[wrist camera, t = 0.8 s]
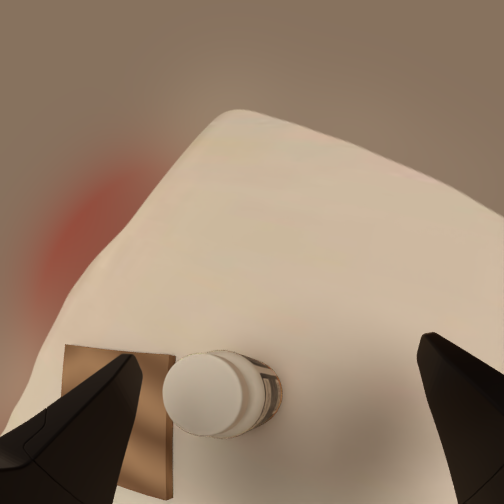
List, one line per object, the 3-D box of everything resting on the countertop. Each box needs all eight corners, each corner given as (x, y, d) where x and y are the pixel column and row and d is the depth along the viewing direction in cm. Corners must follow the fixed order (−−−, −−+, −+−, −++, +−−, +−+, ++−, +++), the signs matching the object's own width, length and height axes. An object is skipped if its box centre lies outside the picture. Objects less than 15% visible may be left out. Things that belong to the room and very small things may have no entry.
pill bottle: (204, 392, 25) (136, 388, 16) (250, 346, 25) (201, 321, 17) (249, 439, 22) (197, 465, 13) (299, 392, 23) (274, 396, 14)
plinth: (172, 497, 21) (166, 500, 20) (68, 460, 24) (61, 461, 23) (175, 356, 27) (168, 354, 26) (72, 346, 30) (65, 344, 29)
